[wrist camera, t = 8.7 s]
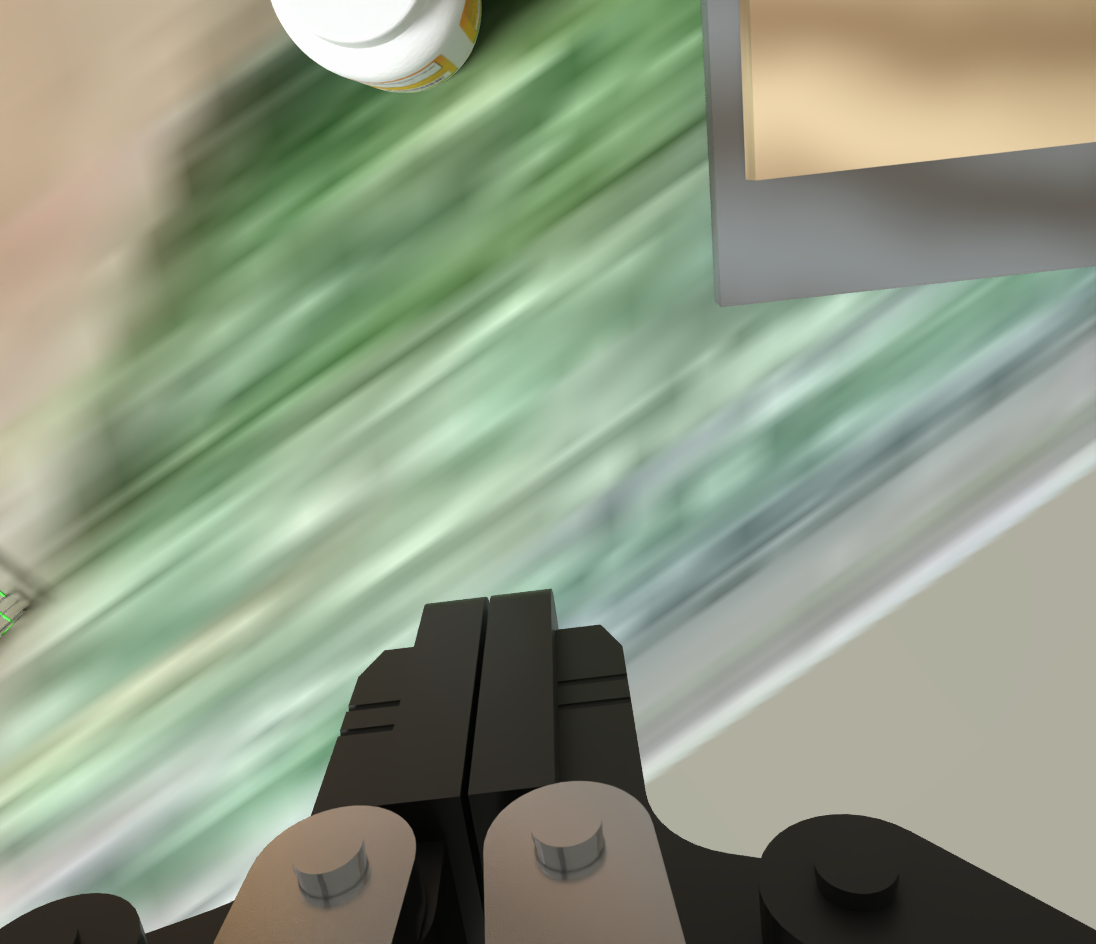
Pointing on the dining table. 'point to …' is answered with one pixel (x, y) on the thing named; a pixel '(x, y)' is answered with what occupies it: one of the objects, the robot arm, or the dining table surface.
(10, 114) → the dining table surface
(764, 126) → the oak plank
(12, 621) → the roof frame
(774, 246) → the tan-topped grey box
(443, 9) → the supplement bottle
